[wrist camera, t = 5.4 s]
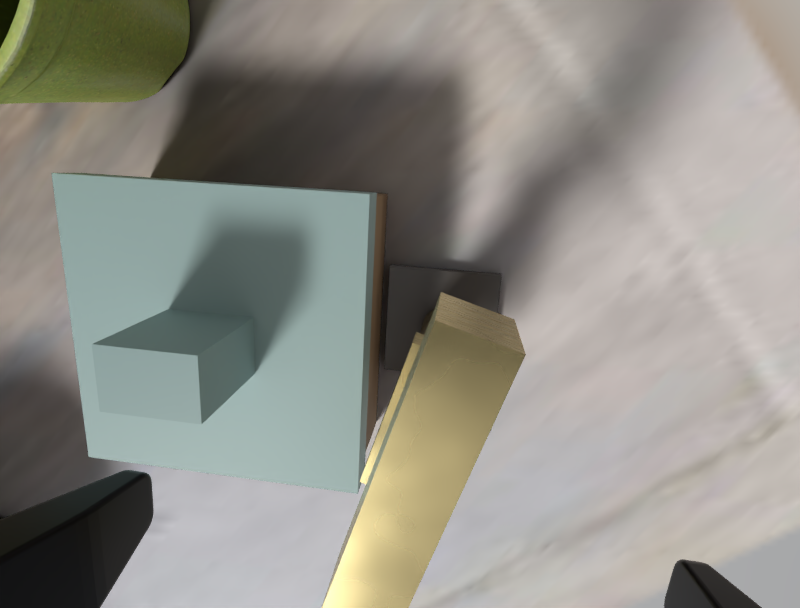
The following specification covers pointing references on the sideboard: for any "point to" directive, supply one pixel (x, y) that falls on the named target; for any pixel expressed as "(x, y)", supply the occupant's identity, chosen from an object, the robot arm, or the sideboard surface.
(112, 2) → the plant pot
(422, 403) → the key
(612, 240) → the sideboard surface
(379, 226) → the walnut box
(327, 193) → the lid
